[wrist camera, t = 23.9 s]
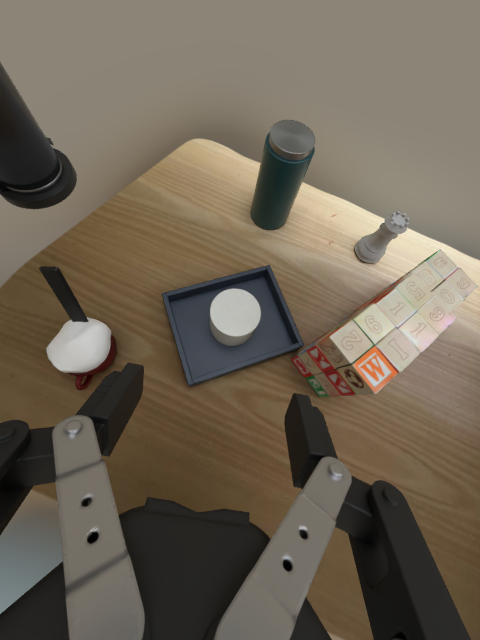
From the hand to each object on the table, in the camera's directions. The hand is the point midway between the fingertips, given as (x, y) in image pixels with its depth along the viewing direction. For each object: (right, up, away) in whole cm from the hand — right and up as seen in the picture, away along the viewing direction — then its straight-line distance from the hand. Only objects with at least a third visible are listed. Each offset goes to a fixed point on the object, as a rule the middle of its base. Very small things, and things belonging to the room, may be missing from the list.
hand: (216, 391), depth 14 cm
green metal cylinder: (+6, +21, +29) cm, 36 cm away
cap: (0, +3, +21) cm, 22 cm away
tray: (0, +3, +22) cm, 22 cm away
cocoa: (-17, 0, +19) cm, 25 cm away
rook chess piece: (+22, +15, +28) cm, 39 cm away
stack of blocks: (+18, +2, +24) cm, 30 cm away
